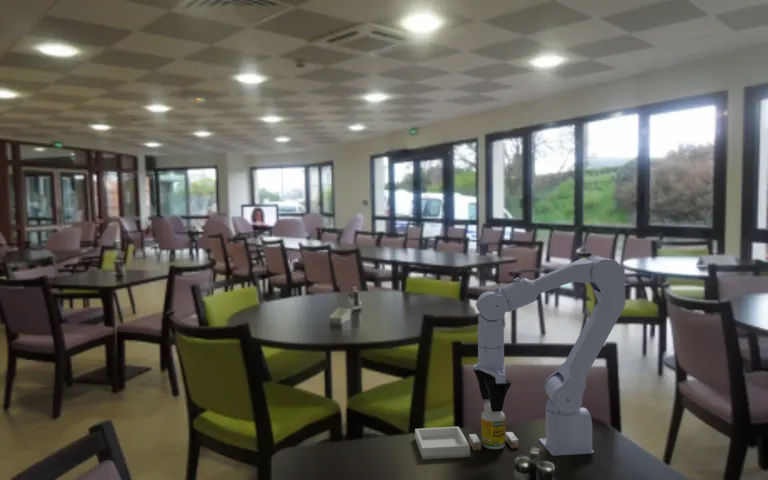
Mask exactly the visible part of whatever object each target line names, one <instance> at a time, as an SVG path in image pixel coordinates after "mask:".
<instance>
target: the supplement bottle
mask: <svg viewBox="0 0 768 480" xmlns="http://www.w3.org/2000/svg"><path fill="white" fill-rule="evenodd" d="M480 416H481V417H480V419H481V422H480V423H481V425H480V427H481V428H480V429H481V430H480V431H481V446H483V447H484V448H486V449H490V450H500V449H503V448H504V447H505V446H506V440H505V432H506V415H505V413H504V412H503V410H502V411H501V412H492V410H491V406H490V400H487V401H485V402H484V403H483V411H482V412H481V415H480Z"/></svg>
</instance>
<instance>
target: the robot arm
mask: <svg viewBox="0 0 768 480" xmlns="http://www.w3.org/2000/svg"><path fill="white" fill-rule="evenodd" d="M512 280H513V282H511V283H508V284H506V285H504V286H501V287H498V286H496V287H495V286H494V287H493V291H490V290H488V291H484V292H483V293H481V294H480V295H479V296H478V298H477V301H476V302H475V307H476V309H477V311H478V317H477V321H478V324H477V350H478V351H477V357H478V358H477V359H478V360H477V361H478V362H477V364H473V365H472V370H473V372H474V374H475V377H476V379H477V383H478V387H479V392H480V396H481V399H482V400H483V401H484V400H487V401H488V400H489V401H490V406H491V410H492V412H501V411H502V412H503V407H504V403H505V399H506V395H507V394H508V390H510V387H511V386H512V381H510V380H509V379H507V378H506V377H507V375H506V372H505V371H506V364H505V328H504V322H503V321H504V319H503V318H504V317H505V314H506V312H507V313H510V312H513V311H515V310H518V309H521V308H522V307H525V306H527V305H530V304H532V303H535V302H536V301H537V298H538V296H539V295H540V294H542V293H546V292H548V291H551V290H553V289H556V288H559V287H562V286H565V285H568V284H572V283H575V282H576V283H580V284H587V285H590V287H591V288H592V290H593V292H594V293H593V294H594V295H595V297H596V299H597V303H596V304H595V306H594V308H593V310H592V312H591V314H590V316H589V317H588V319H587V321H586V323H585V325H584V327H583V329H582V330H581V332H580V333H579V335H578V337H577V339H576V340H575V341H576V342H575V343H574V345H573V347H572V349H571V350H570V352H569V354H568V356H567V357H566V360H565V361H564V362H563V363H561V364H560V365H558V367H557V368H556V370H555V372H553V373H552V374H551V375H549V376H548V377H547V378H546V380H545V381H544V386H543V388H544V392H545V393H546V395H547V397H548V400H547V402H546V404H545V438H539V439H538V441H539V442H540V444H541V445H542V446H543V447H544V448H545V449H546V450H547V451H548V453H549V454H550V455H551V456H569V455H570V456H573V455H586V454H587V455H589V454H594V452H595V451H594V450H593V421H592V416H591V413H590V411H589V410H588V409H587V408H586V407H583V406H582V405H583V396H584V395H583V394H584V392H585V390H586V387H587V376H588V373H589V372H590V370H591V369H592V367H593V364H594V363H595V361H596V359H597V357H598V356H599V353H600V352H601V350H602V348H603V346H605V345H604V344H605V343H606V341H607V340H608V337H609V336H610V334H611V332H612V330H613V328H614V327H615V325H616V323H617V322H618V320H619V318H620V315H621V314H622V312H623V311H624V309H625V306H626V287H625V286H626V281H627V275H626V274H625V272H624V269H623V267H622V266H621V264H620V263H619V262H618V261H616V260H615V259H613V258H606V257H603V256H602V255H597V254H595V255H591V256H588V257H587V258H581V259H577V260H575V261H573V262H570V263H568V264H565V265H564V266H561V267H559V268H556V269H554V270H552V271H551V272H548V273H546V274H544V275H542V276H540V277H537V278H535V279H532V280H531V279H529V278H526V277H522V278H520V277H515V278H513V279H512ZM581 406H582V407H581Z"/></svg>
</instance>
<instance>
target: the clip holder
mask: <svg viewBox="0 0 768 480" xmlns="http://www.w3.org/2000/svg"><path fill="white" fill-rule="evenodd" d="M505 442H507V444H508V445H509V447H510V448H511V449H517V448H518V449H519V438H517V436H516V435H515V434H514V432H513V431H505ZM468 443H469V445H470V447H471V448H472V450H473V451H481V450H482V440H480V438H479V436H478V435H477V434H476V433H470V434H468Z"/></svg>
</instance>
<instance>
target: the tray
mask: <svg viewBox="0 0 768 480" xmlns="http://www.w3.org/2000/svg"><path fill="white" fill-rule="evenodd" d="M414 439H415V443H416V446H417V448H418V451H419V453H420V454H419V455H420V456H421V459H422V460H436V459H437V460H438V459H454V458H455V459H457V458H470V454H471V450H470V449H471V444H470V443H469V441H467V439H466V437H465V435H464V433H463V431H462V430H461V428H460V427H459V426H445V427H444V426H443V427H426V428H425V427H424V428H415V429H414Z"/></svg>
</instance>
